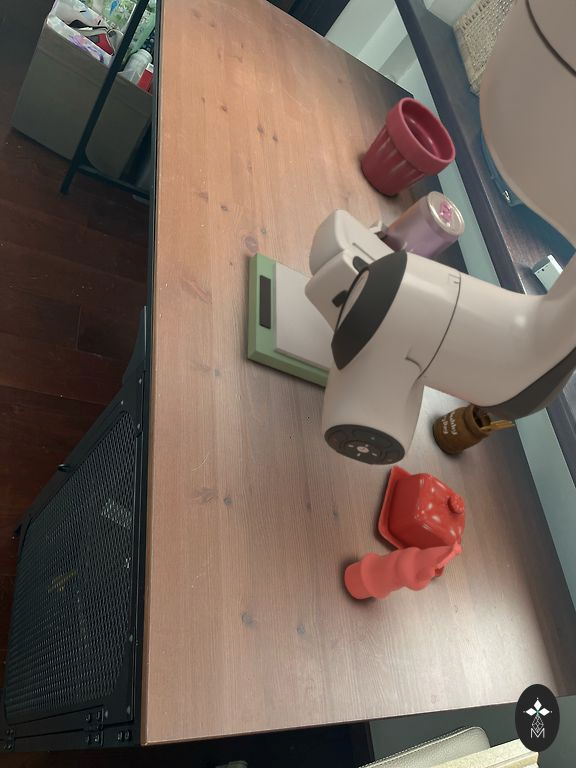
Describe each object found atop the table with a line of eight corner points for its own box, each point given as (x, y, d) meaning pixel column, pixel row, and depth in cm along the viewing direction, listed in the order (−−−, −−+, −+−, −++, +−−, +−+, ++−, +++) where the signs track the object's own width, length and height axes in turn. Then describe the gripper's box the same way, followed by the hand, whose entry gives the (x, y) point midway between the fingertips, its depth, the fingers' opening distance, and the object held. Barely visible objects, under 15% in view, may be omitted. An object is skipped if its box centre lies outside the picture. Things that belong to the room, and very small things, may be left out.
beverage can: (375, 287, 79) (467, 214, 69) (369, 317, 75) (465, 245, 65) (340, 259, 77) (429, 180, 67) (332, 289, 73) (425, 210, 63)
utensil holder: (460, 431, 96) (525, 400, 88) (457, 464, 92) (525, 434, 84) (433, 411, 94) (497, 377, 86) (429, 443, 90) (496, 410, 82)
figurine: (358, 615, 69) (463, 588, 58) (332, 576, 69) (433, 542, 59) (380, 588, 72) (483, 559, 62) (356, 551, 73) (455, 515, 62)
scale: (247, 358, 76) (259, 347, 74) (249, 260, 84) (260, 248, 82) (352, 397, 84) (365, 388, 83) (344, 304, 93) (356, 295, 91)
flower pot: (393, 219, 113) (446, 172, 105) (340, 161, 111) (390, 109, 102) (413, 190, 123) (463, 146, 115) (365, 137, 121) (412, 88, 112)
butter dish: (387, 463, 83) (435, 440, 77) (446, 510, 86) (496, 492, 80) (368, 534, 75) (420, 515, 69) (434, 584, 78) (488, 569, 72)
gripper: (481, 367, 64) (484, 284, 73) (330, 246, 57) (354, 171, 66) (435, 393, 68) (443, 311, 77) (290, 283, 61) (318, 208, 70)
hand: (401, 246), depth 71 cm, fingers closed on beverage can, 6 cm apart
